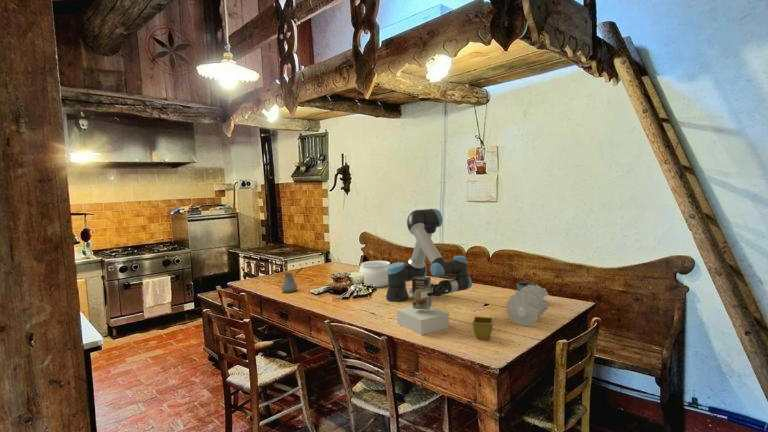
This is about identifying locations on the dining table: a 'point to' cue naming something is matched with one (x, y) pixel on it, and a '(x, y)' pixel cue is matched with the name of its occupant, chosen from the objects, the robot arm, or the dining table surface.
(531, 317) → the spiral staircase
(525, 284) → the drinking glass
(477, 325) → the flower pot
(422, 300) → the coffee box
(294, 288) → the coffee pot
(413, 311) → the painted box
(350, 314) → the dining table surface
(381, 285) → the pot
